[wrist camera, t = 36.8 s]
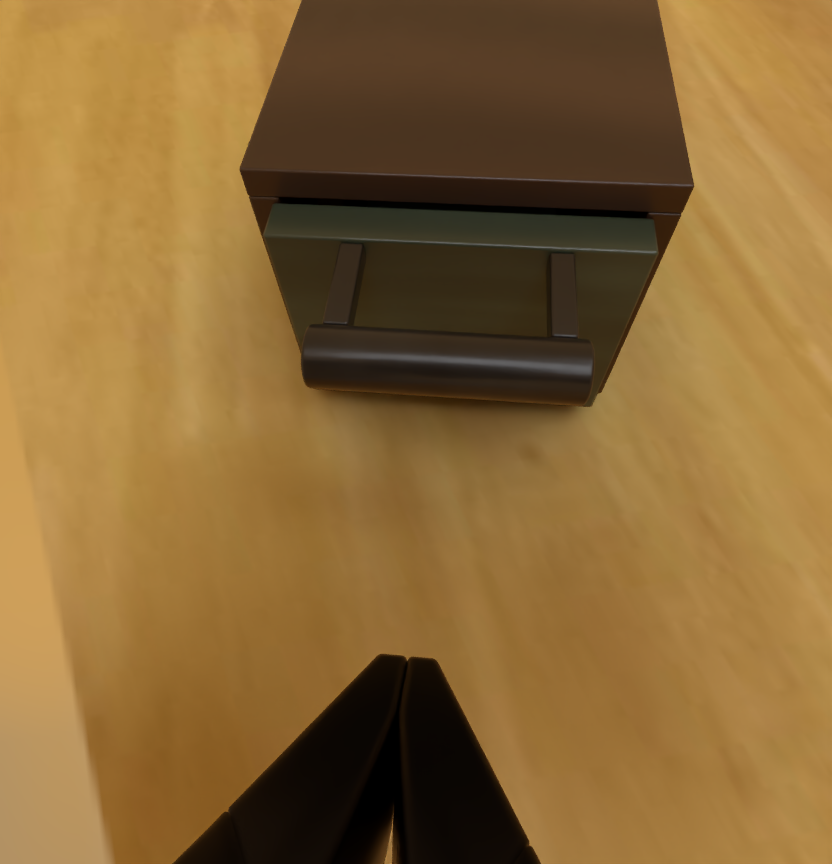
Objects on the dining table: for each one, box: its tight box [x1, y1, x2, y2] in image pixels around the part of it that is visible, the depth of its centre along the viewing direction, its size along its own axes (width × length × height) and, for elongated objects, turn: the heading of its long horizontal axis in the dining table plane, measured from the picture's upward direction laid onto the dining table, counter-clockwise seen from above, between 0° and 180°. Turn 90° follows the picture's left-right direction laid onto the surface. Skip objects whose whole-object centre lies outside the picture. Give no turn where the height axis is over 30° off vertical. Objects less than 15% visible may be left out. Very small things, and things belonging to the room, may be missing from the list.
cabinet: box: [240, 0, 694, 393], centre depth 21 cm, size 14×11×9 cm
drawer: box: [263, 199, 659, 407], centre depth 19 cm, size 16×9×7 cm, turn 174°
